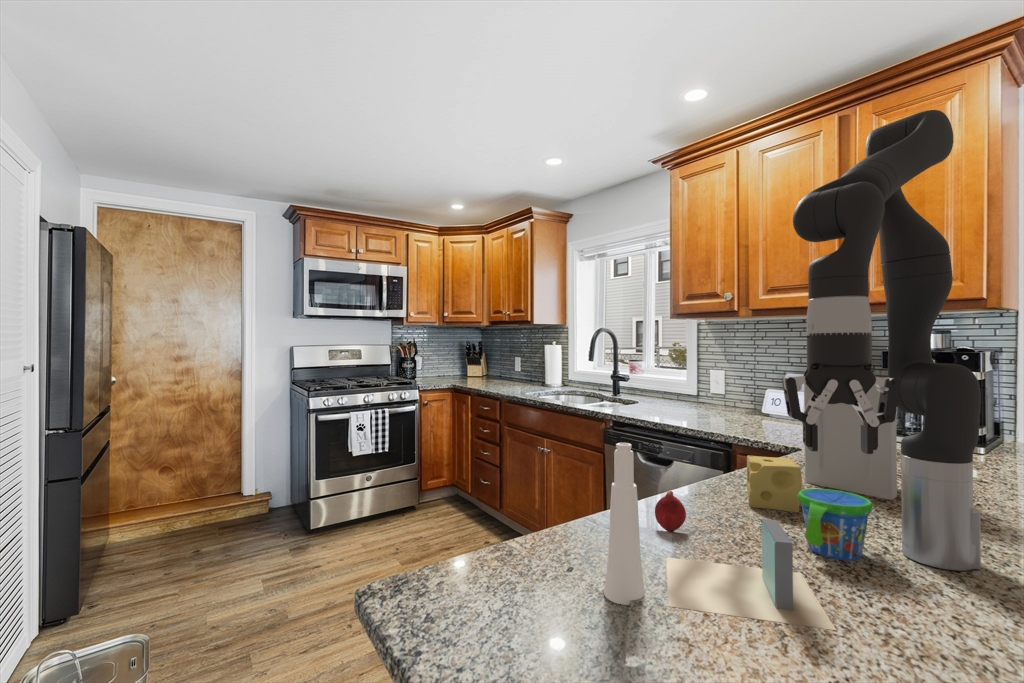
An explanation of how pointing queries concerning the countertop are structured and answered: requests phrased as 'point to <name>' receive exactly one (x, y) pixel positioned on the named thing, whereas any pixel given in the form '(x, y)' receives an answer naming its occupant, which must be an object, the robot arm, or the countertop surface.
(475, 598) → the countertop surface
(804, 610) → the board
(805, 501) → the snack cup
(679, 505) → the onion
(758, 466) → the cheese
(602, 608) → the countertop surface
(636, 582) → the cosmetic bottle
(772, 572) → the block
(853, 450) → the white grooved panel
